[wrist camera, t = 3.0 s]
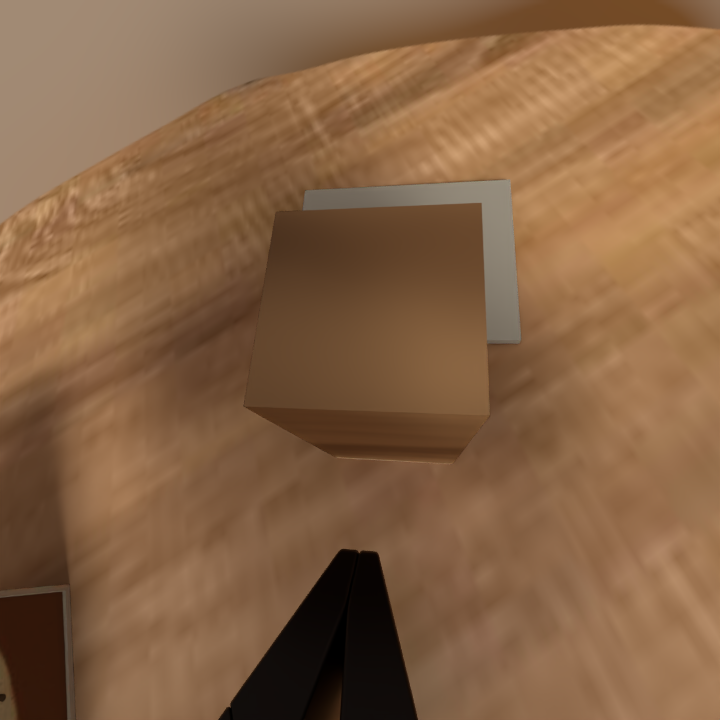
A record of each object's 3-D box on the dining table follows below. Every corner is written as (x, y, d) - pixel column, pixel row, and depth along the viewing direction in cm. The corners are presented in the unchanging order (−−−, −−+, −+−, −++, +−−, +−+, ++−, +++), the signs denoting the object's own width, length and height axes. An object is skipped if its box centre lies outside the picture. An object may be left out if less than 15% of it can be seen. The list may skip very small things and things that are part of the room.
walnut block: (452, 464, 17) (490, 415, 8) (336, 457, 18) (243, 406, 8) (451, 353, 19) (481, 203, 9) (345, 352, 19) (276, 211, 10)
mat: (519, 343, 18) (520, 340, 18) (287, 341, 20) (284, 338, 20) (508, 185, 21) (510, 179, 21) (307, 195, 23) (305, 190, 23)
